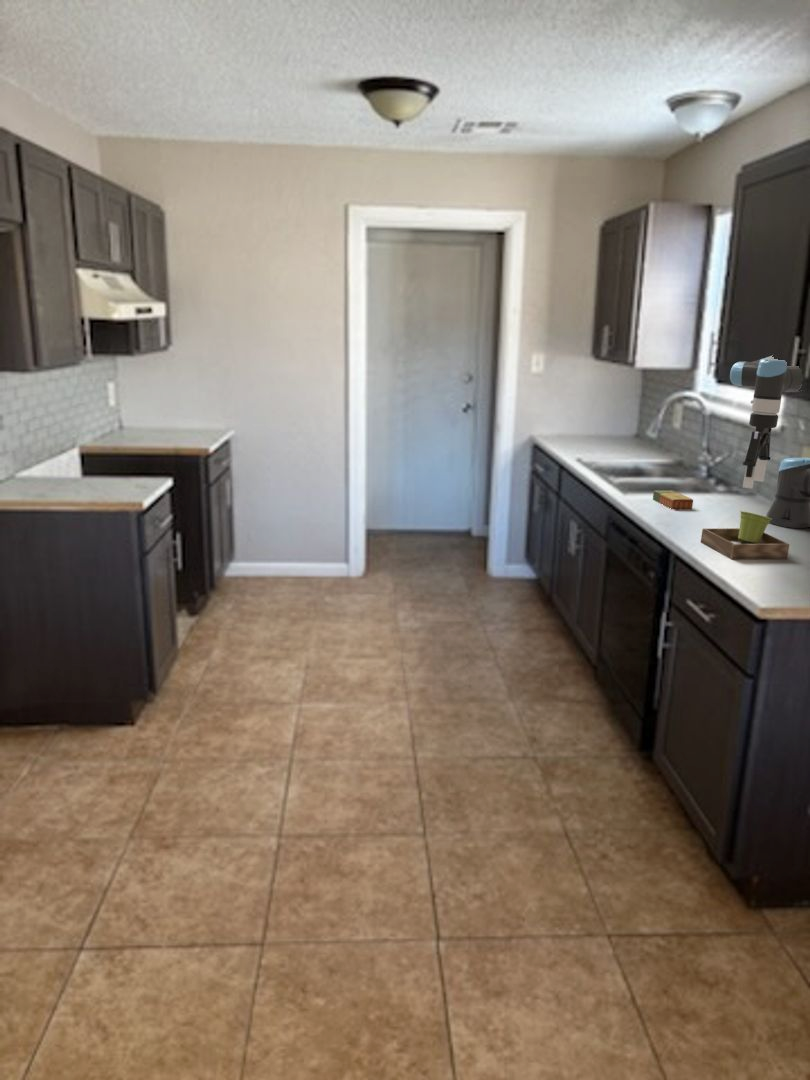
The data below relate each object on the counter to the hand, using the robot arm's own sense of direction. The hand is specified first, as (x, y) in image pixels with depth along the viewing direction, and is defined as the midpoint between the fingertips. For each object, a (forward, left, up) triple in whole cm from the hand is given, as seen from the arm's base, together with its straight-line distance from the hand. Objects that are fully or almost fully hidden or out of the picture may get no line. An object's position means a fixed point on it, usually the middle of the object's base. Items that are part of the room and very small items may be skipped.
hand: (753, 484), depth 247 cm
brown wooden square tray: (0, 0, -21) cm, 21 cm away
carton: (-7, -60, -21) cm, 64 cm away
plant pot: (-3, -3, -19) cm, 20 cm away
